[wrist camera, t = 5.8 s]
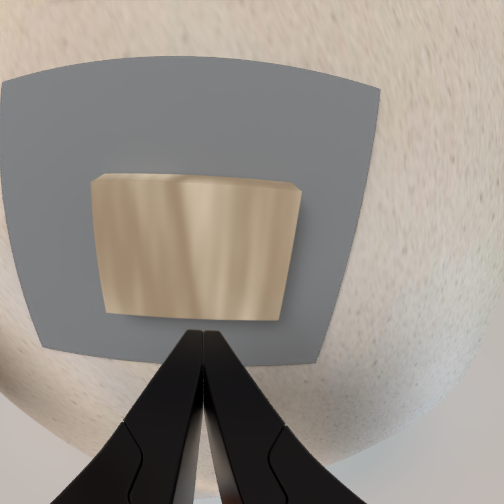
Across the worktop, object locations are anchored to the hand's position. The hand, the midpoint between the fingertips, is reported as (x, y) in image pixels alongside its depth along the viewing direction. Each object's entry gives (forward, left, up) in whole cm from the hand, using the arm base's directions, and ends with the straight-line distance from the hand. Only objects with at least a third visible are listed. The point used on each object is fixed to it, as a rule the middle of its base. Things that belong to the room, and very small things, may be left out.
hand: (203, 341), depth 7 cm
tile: (-5, 0, -6) cm, 7 cm away
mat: (-2, 0, -7) cm, 7 cm away
